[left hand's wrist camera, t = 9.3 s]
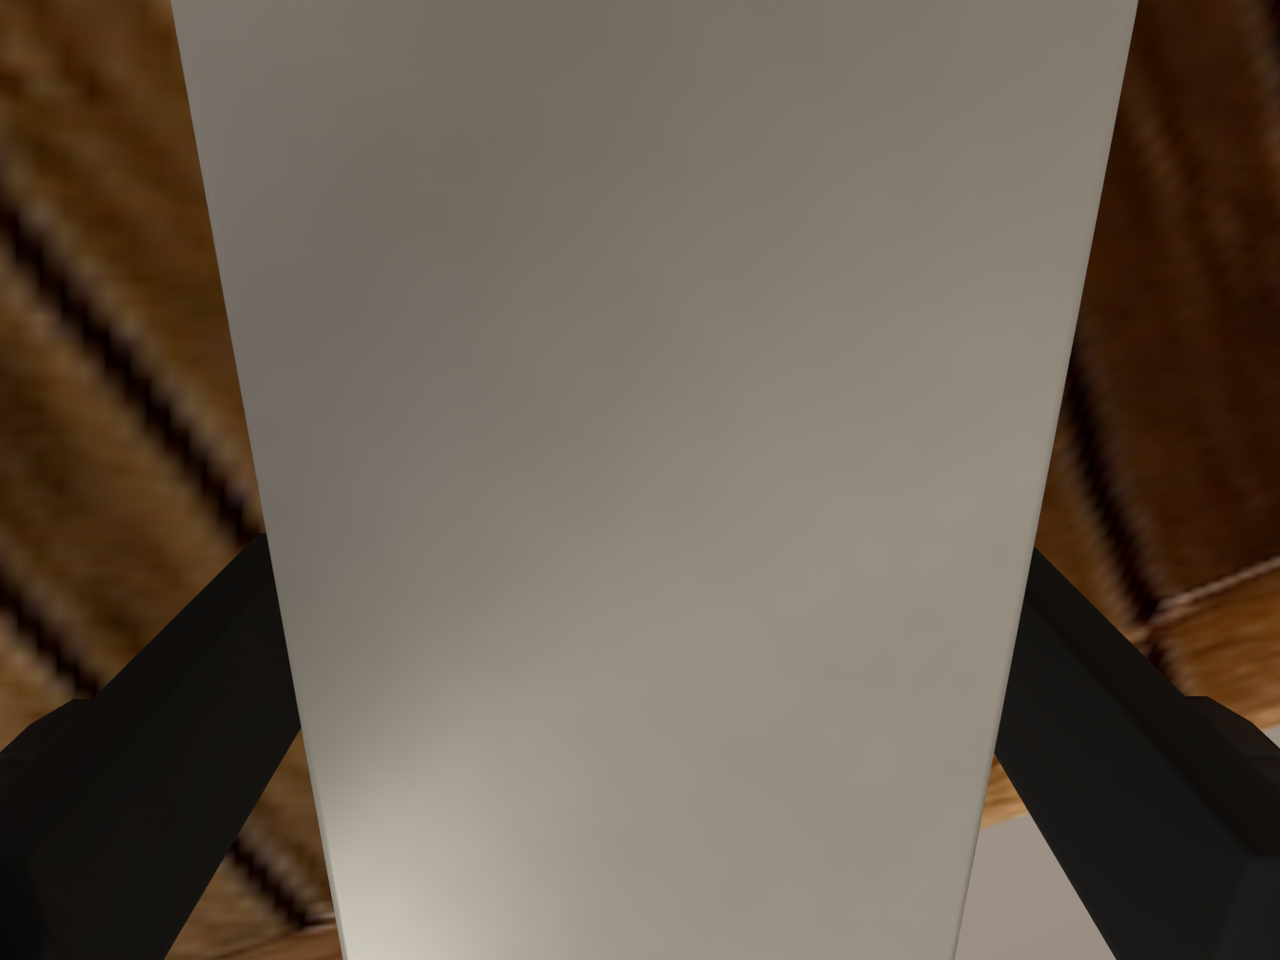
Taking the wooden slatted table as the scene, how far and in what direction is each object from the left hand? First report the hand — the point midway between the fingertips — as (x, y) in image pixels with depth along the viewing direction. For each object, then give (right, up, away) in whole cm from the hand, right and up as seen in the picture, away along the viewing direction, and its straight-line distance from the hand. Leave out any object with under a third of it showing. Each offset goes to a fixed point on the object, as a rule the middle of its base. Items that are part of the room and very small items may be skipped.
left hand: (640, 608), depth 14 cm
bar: (0, +10, -2) cm, 10 cm away
